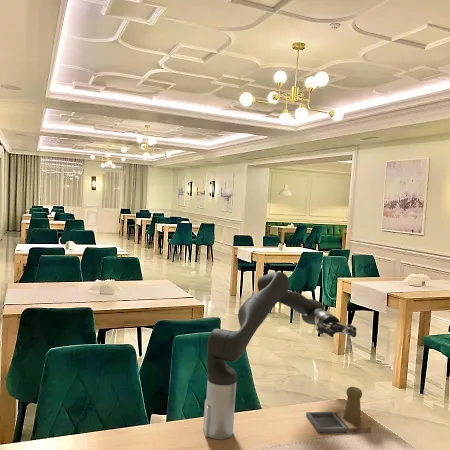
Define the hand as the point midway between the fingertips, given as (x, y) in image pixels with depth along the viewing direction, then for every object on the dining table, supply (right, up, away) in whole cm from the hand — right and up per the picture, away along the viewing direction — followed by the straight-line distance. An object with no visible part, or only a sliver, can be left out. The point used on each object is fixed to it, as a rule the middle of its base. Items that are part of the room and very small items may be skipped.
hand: (343, 334), depth 174 cm
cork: (+1, -27, -9) cm, 29 cm away
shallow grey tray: (-9, -28, -11) cm, 31 cm away
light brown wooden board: (+1, -29, -9) cm, 30 cm away
